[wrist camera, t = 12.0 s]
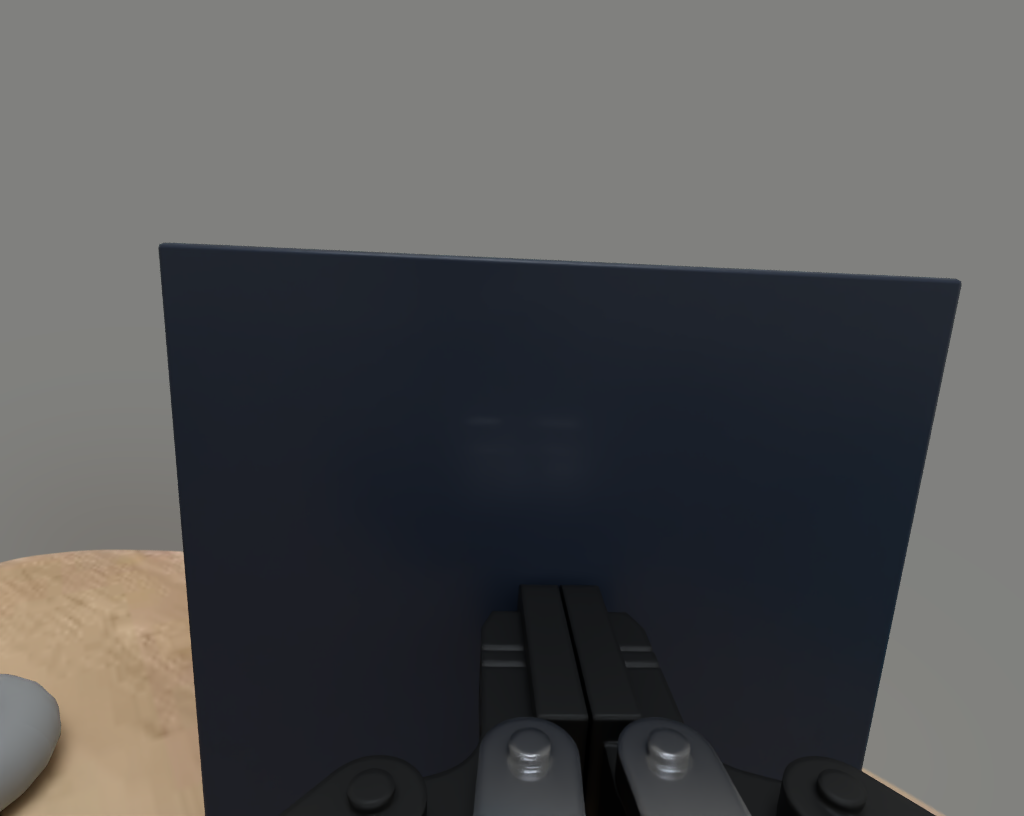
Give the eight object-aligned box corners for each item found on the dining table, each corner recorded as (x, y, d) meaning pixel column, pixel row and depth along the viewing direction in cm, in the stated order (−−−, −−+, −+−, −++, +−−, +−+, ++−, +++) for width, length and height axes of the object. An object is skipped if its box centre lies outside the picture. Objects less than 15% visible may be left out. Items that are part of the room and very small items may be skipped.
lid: (177, 242, 11) (155, 242, 10) (933, 277, 12) (965, 279, 11) (232, 972, 15) (219, 1011, 14) (800, 958, 16) (817, 994, 15)
